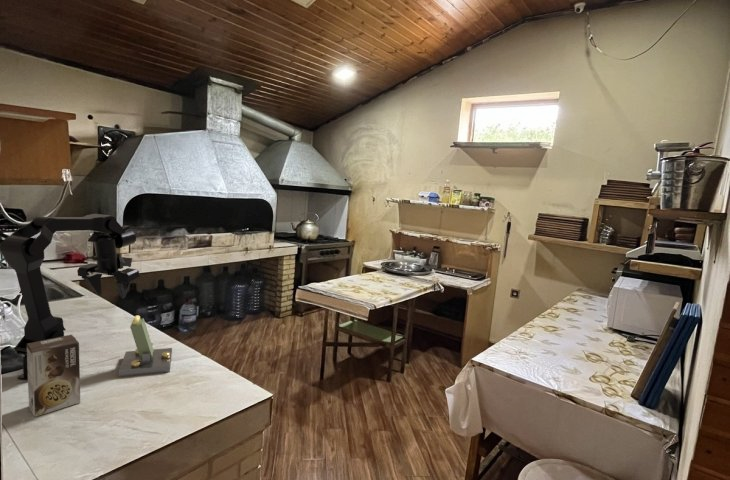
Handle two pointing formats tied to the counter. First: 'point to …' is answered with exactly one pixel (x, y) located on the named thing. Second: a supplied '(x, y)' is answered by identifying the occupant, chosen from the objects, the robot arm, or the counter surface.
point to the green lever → (141, 336)
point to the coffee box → (53, 374)
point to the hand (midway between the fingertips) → (111, 296)
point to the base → (146, 362)
